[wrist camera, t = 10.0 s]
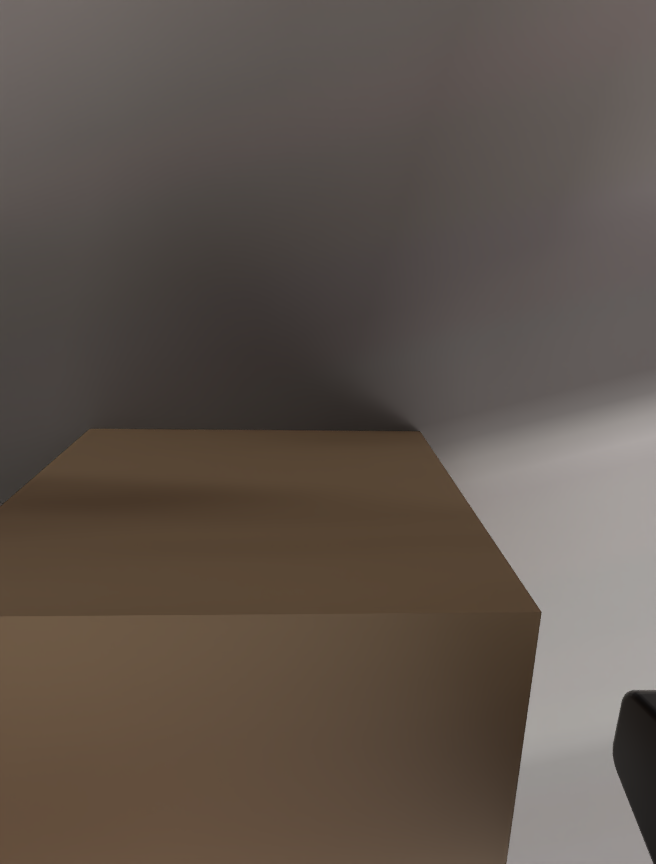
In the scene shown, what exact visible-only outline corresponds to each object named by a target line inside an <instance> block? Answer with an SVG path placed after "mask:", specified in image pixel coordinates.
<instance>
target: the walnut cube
mask: <svg viewBox="0 0 656 864" xmlns="http://www.w3.org/2000/svg"><path fill="white" fill-rule="evenodd" d="M540 619H541V611H540V609H539V608H538V606H537V605H536V603H535V602H534V600H533V599H532V597H531V596H530V594H529V593H528V591H527V590H526V588H525V587H524V585H523V584H522V582H521V581H520V580H519V578H518V577H517V575H516V574H515V572H514V571H513V569H512V568H511V566H510V565H509V563H508V562H507V560H506V559H505V557H504V556H503V554H502V553H501V551H500V550H499V548H498V547H497V545H496V544H495V542H494V541H493V539H492V538H491V536H490V535H489V533H488V532H487V530H486V529H485V527H484V526H483V524H482V523H481V521H480V520H479V519H478V517H477V516H476V514H475V513H474V511H473V510H472V508H471V507H470V505H469V504H468V502H467V501H466V499H465V498H464V496H463V495H462V493H461V492H460V490H459V489H458V487H457V486H456V484H455V483H454V481H453V480H452V478H451V477H450V475H449V474H448V472H447V471H446V469H445V468H444V466H443V465H442V463H441V462H440V461H439V459H438V458H437V456H436V455H435V453H434V452H433V450H432V449H431V447H430V446H429V444H428V443H427V441H426V440H425V438H424V437H423V435H422V434H421V432H420V431H321V430H198V429H89V430H88V431H87V432H86V433H84V434H83V435H82V436H81V437H80V438H79V439H77V440H76V441H75V442H74V443H73V444H72V445H71V446H69V447H68V448H67V449H66V450H65V451H64V452H62V453H61V454H60V455H59V456H58V457H57V458H56V459H54V460H53V461H52V462H51V463H50V464H49V465H48V466H46V467H45V468H44V469H43V470H42V471H41V472H39V473H38V474H37V475H36V476H35V477H34V478H33V479H31V480H30V481H29V482H28V483H27V484H26V485H24V486H23V487H22V488H21V489H20V490H19V491H18V492H16V493H15V494H14V495H13V496H12V497H11V498H9V499H8V500H7V501H6V502H5V503H4V504H3V505H1V506H0V864H506V862H507V855H508V848H509V840H510V833H511V826H512V819H513V812H514V805H515V798H516V790H517V783H518V776H519V769H520V762H521V755H522V748H523V740H524V733H525V726H526V719H527V712H528V705H529V698H530V690H531V683H532V676H533V669H534V662H535V655H536V648H537V640H538V633H539V626H540Z"/></svg>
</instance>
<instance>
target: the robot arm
mask: <svg viewBox="0 0 656 864" xmlns="http://www.w3.org/2000/svg"><path fill="white" fill-rule="evenodd" d="M613 759H614V764H615V767H616V770H617V773H618V776H619V778H620V781H621V783H622V786H623V788H624V791H625V793H626V796H627V798H628V801H629V803H630V806H631V808H632V811H633V814H634V816H635V819H636V821H637V824H638V826H639V829H640V831H641V834H642V836H643V839H644V841H645V844H646V846H647V849H648V851H649V854H650V856H651V859H652V861H653V864H656V690H632V691H629V692H627V693H626V694H625V696H624V697H623V699H622V703H621V708H620V713H619V717H618V722H617V727H616V732H615V737H614V742H613Z"/></svg>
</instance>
